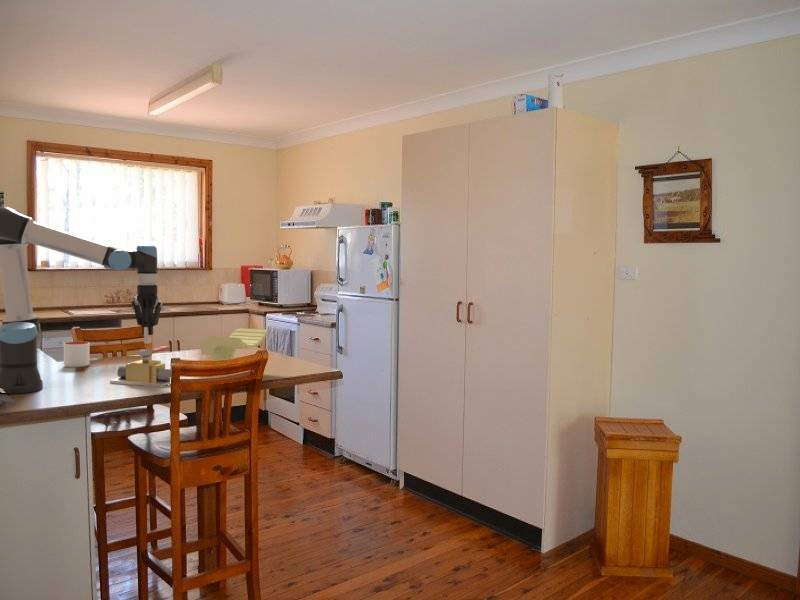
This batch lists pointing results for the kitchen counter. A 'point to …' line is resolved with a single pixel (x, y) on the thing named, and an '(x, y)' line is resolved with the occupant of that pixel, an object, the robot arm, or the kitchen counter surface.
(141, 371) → the valve
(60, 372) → the kitchen counter surface
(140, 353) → the lever
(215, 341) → the slatted curved stool
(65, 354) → the cup
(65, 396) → the kitchen counter surface
